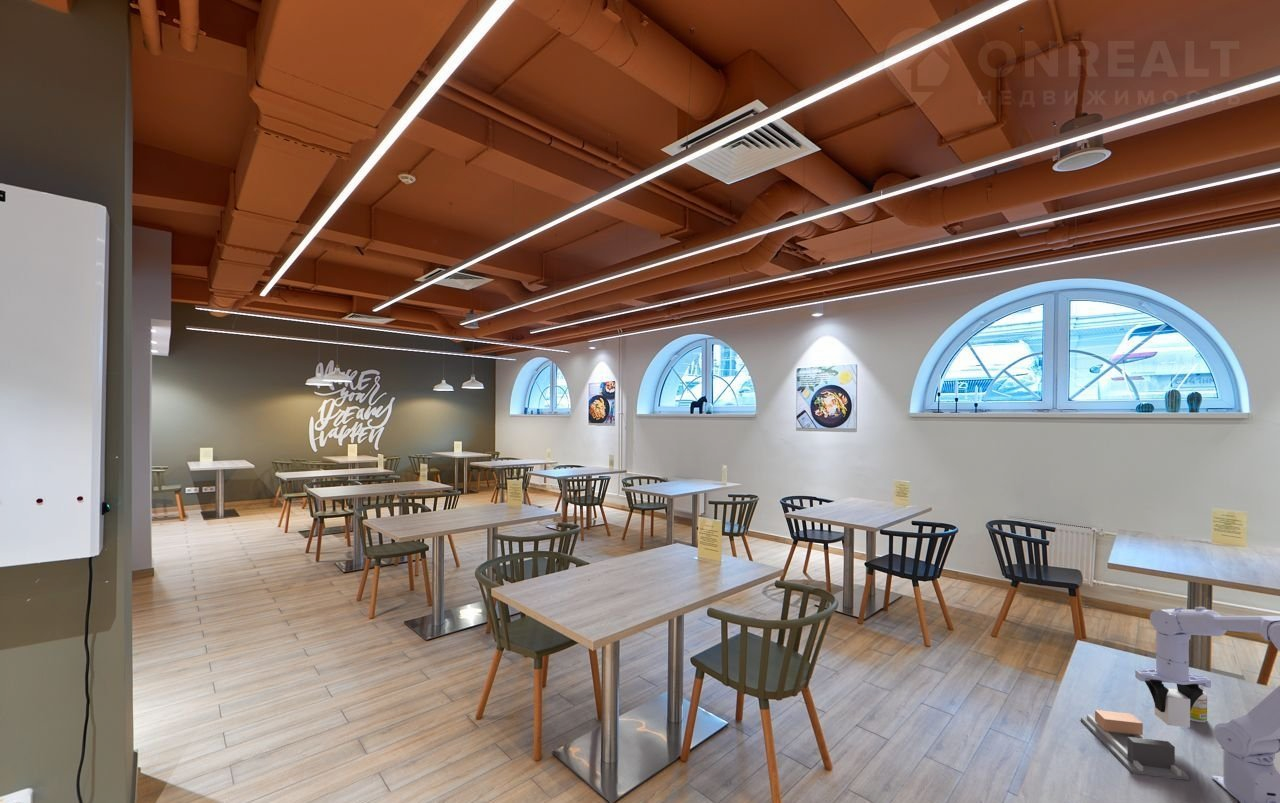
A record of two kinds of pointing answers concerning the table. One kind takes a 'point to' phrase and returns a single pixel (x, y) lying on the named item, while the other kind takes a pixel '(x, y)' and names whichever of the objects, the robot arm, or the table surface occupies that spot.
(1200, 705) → the supplement bottle
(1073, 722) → the table surface
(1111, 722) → the peach block
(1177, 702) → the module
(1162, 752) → the rail holder
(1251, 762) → the robot arm
